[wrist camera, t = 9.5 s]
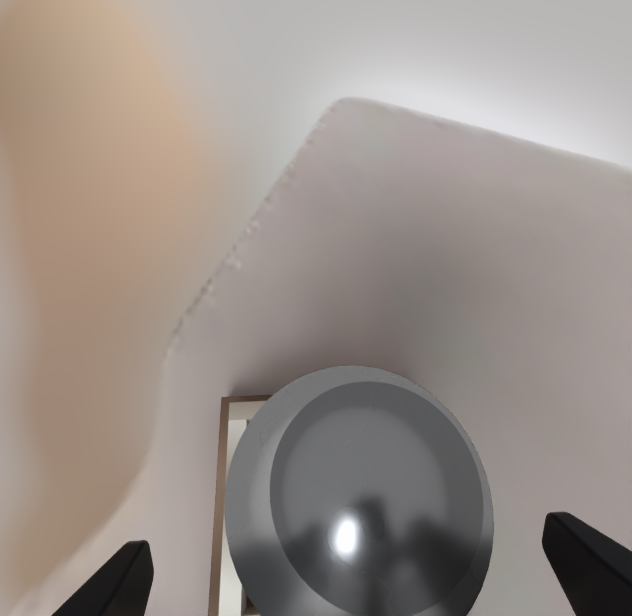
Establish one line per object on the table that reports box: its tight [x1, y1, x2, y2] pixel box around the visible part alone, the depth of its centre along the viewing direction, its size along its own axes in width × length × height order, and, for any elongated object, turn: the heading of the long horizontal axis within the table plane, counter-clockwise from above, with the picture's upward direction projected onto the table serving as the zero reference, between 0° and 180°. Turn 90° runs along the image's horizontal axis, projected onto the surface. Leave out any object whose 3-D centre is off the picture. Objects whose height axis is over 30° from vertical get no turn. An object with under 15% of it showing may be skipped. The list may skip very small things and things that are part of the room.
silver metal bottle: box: [224, 365, 494, 616], centre depth 11 cm, size 5×5×13 cm
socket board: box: [208, 395, 273, 616], centre depth 15 cm, size 17×10×2 cm, turn 3°
